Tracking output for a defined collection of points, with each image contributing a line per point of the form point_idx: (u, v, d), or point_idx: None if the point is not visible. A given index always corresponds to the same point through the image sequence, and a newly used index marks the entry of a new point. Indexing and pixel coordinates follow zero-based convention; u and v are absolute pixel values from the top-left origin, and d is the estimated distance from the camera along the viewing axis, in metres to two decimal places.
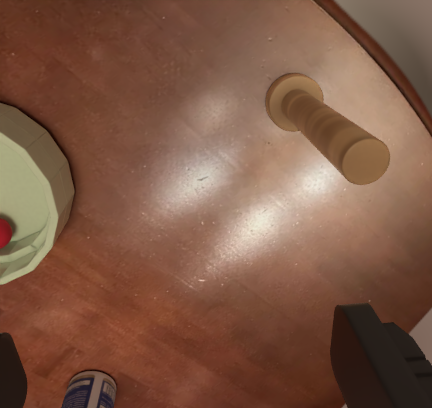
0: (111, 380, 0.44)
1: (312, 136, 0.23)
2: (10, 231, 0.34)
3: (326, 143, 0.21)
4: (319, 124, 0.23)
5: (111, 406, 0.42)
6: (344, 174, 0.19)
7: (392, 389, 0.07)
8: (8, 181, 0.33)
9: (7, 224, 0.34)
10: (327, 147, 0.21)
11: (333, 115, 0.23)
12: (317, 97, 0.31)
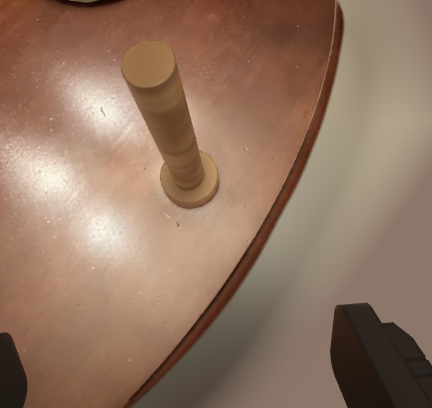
0: None
1: None
2: None
3: None
4: None
5: None
6: (132, 46, 0.17)
7: (392, 389, 0.07)
8: None
9: None
10: None
11: None
12: (198, 194, 0.29)
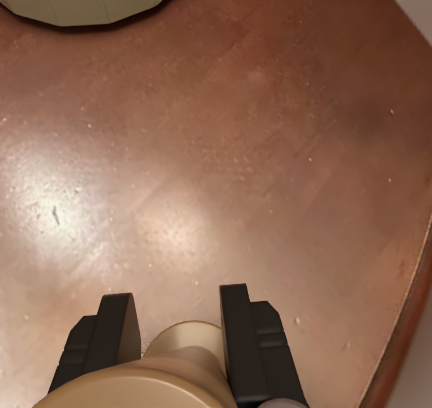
0: None
1: (170, 351, 0.08)
2: None
3: (178, 357, 0.06)
4: (208, 362, 0.08)
5: None
6: (53, 397, 0.03)
7: (234, 354, 0.08)
8: None
9: None
10: (162, 356, 0.06)
11: None
12: None
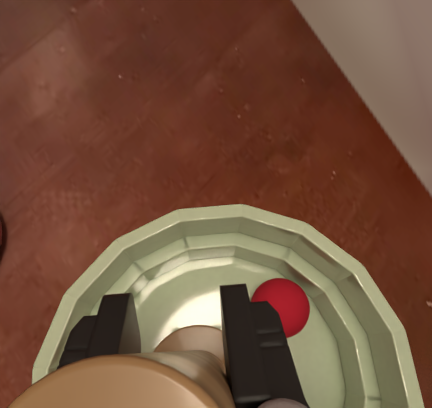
0: None
1: None
2: None
3: (169, 352, 0.06)
4: (205, 360, 0.08)
5: None
6: (34, 388, 0.03)
7: (234, 355, 0.08)
8: None
9: None
10: (152, 352, 0.06)
11: None
12: None
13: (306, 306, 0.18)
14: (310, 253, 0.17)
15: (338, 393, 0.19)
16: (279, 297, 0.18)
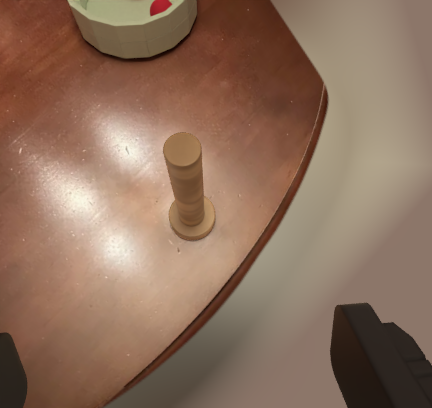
0: None
1: None
2: None
3: None
4: None
5: None
6: (171, 136, 0.25)
7: (392, 389, 0.07)
8: None
9: None
10: None
11: None
12: (198, 230, 0.37)
13: None
14: None
15: None
16: None
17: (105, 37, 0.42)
